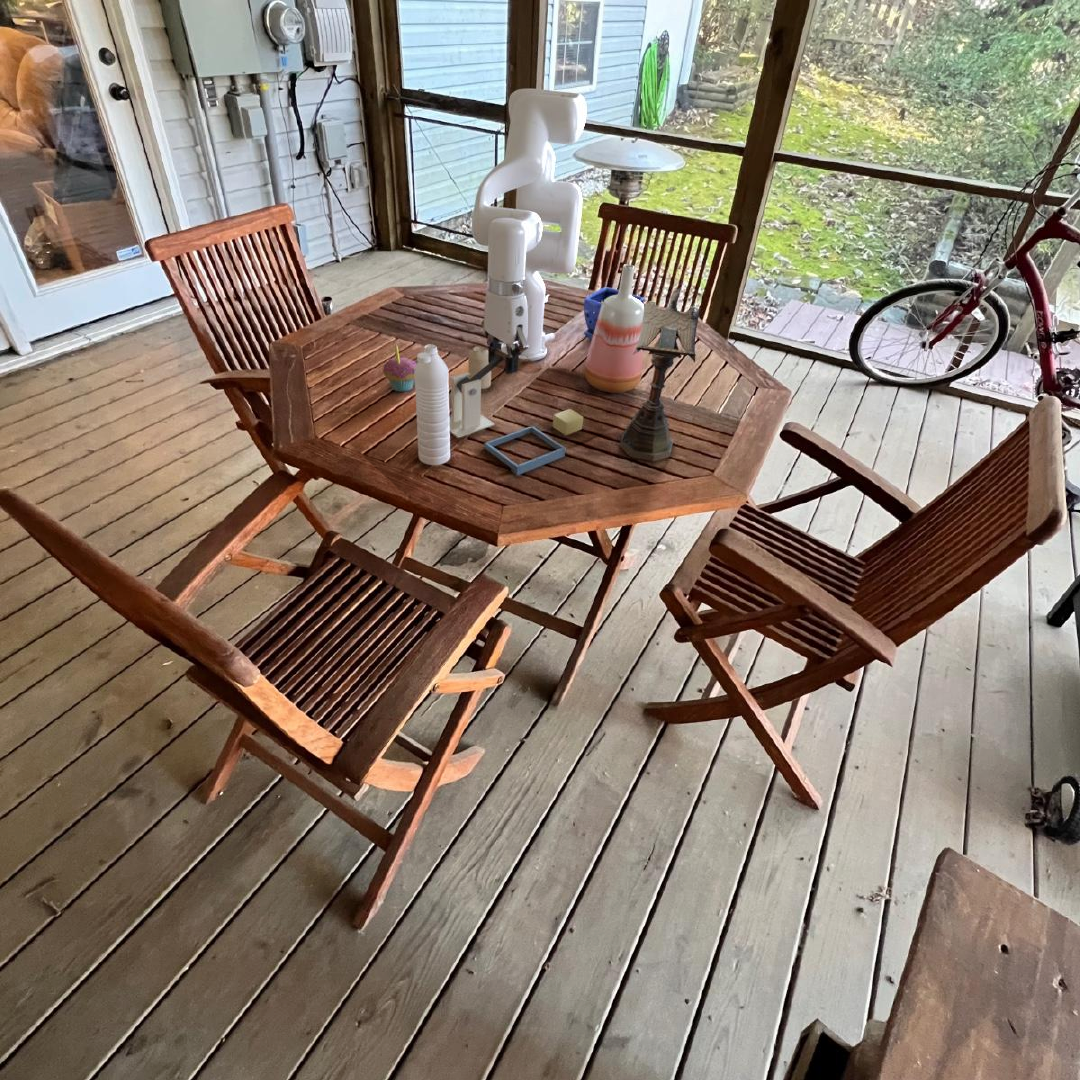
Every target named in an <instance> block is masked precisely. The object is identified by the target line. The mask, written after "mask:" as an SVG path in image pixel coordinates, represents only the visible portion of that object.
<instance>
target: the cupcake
mask: <svg viewBox="0 0 1080 1080" xmlns="http://www.w3.org/2000/svg"><path fill="white" fill-rule="evenodd" d="M394 345H395V346H394V352H395V357H394V358H391V359H389V360H387V361H386V363H384V365H383V371H382V372H383V375H384V377H385V378H386V379H388V381H389V383H390V385H391V388H392V390H394V391H395V392H400V393H406V392H409V391H410V390H412V389H413V385H414V384H415V378H414V371H415V367H416V365H417V363H418V362H415V360H412V359H410V358H408V357H404V356H400V354H399V353H400V352H399V347H398V345H397V343H395V344H394Z"/></svg>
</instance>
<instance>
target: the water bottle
mask: <svg viewBox="0 0 1080 1080" xmlns="http://www.w3.org/2000/svg"><path fill="white" fill-rule="evenodd" d="M416 361H417V362H416V363H417V365H416V367H415V371H414V378H415V380H414V386H415V387H414V390H415V391H414V393H415V412H416V413H415V415H416V424H417V425H416V431H417V449H418V453H417V454H418V460H419V461H420V462H422V463H423V464H425V465H428V466H429V465H431V466H439V465H444V464H445V463H447V462H448V461H450V459H451V441H450V440H451V432H450V426H449V422H450V420H449V417H450V390H449V389H450V386H449V385H450V382H449V381H450V379H449V378H450V375H449V373H450V372H449V367H448V365H447V364H446V362H445V361H444V360H443V359H442V357H441V356H440V355H439V349H438V347H437V345H436V344H431V343H428V344H425V345H424V348H423V352H419V353H417V354H416Z"/></svg>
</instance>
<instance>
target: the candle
mask: <svg viewBox="0 0 1080 1080" xmlns="http://www.w3.org/2000/svg"><path fill="white" fill-rule="evenodd" d="M488 364H489V363H488V349H486V348H483V347H481V346H474V347H473V348H472V349H471V350H470V351H469V352H468V373H470V379H471V378H472V377H473V376H474V375H476V374H477V373H478V372H479V371H480V370H482V369H483V368H484V367H485V366H487V365H488ZM480 381H481V390H485V389H488V388H490V387H491V386H492V370H491V371H490V372H488V373H487V374H486V375H485V376H484V377H482V378H481V379H480Z"/></svg>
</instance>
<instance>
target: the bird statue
mask: <svg viewBox="0 0 1080 1080" xmlns="http://www.w3.org/2000/svg"><path fill="white" fill-rule="evenodd" d="M680 293H681V288H678V289H675V290H673V292H672V293H671V295H670V299H669V303H668V305H667V306H666V308H665V309H661V308H659V307H658V306H657V305H656V302H655V301H653V300H648V301H646V303H645V304H644V305H643V306H644V313H643V321H642V328H641V333H640V337H639V341H638V343H637V346H636V349H635V351H634V353H633V355H634V354H635V353H637V352H639V351H640V350H643V351H646V352H648V355H651V359H650V362H651V364H652V365H653V368H654V371H653V376H652V381H651V382H650V390H649V396H648V398H647V399H646V400H643V402H642V404H641V407H640V408H639V410H638V411H637V412H636V413H634V415H633V416H632V417H631V420H630V423H629V424H628V426H626V429H625V430H623V432H622V435H621V438H620V442H619V448H621V449H622V451H624V452H625V453H626V454H627V455H628V456H629V457H630V458H634V459H638V460H644V461H648V462H656V461H660V460H664V459H668V458H670V456H671V451H672V448H673V444H674V440H673V439H672V438H671V435H670V428H669V426H670V423H669V422H668V419H667V418H666V414H665V410H664V409H665V405H664V403H663V402H661V399H660V398H661V397H662V396H661V395H662V391H663V389H664V388H665V387H666V384H665V380H666V373H667V370H668V369H670V368H671V367H673V365H674V359H675V358H678V359H682V356H685V357H686V356H688V357H689V358H690V359H691V360H692V361H693V363H696V356H697V354H696V349H695V348H696V335H697V329H698V325H699V318H700V309H699V308H698V307H696V306H695V304H692V306H689V308H688V310H686V311H684V312H681V311H679V310H678V307H677V306H678V300H679V297H680ZM659 333H660V334H659ZM658 334H659V338H658V339H657V341H656V342H655V343H654V346H649V345H650V344H652V342H653V341H654V340H655V338H656V337H657V336H658ZM677 339H678V340H679V342H680V345H681V347H682V349H683V350H682V349H679V346H678V343H677Z"/></svg>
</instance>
